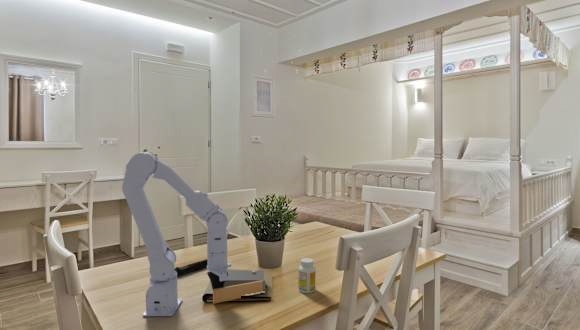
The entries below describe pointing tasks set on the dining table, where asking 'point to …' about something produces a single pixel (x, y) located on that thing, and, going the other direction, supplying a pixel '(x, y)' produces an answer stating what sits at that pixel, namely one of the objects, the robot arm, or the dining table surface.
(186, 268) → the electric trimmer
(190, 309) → the dining table surface
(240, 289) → the side door
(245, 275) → the camera body
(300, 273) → the supplement bottle
